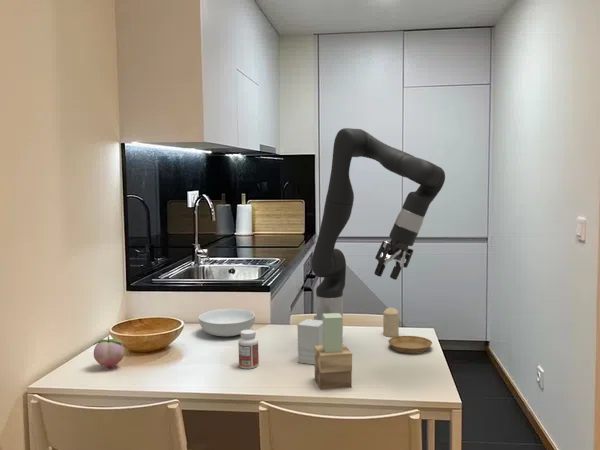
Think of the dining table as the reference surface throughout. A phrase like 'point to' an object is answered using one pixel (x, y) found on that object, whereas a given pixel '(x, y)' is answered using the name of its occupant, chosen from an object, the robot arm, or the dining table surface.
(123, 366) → the dining table surface
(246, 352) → the pill bottle
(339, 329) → the sage block
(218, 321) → the serving bowl
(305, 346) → the supplement box
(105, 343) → the decorative fruit
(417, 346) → the plant saucer
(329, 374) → the walnut block
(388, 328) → the candle
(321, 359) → the oak block
